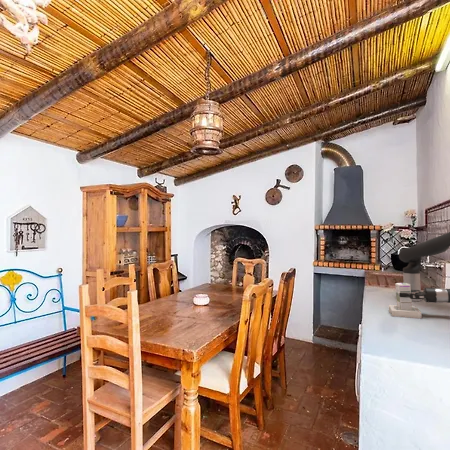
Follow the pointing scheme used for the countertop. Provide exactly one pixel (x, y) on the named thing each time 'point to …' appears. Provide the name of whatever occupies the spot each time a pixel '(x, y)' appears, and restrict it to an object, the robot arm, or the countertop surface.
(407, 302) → the syrup box
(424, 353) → the countertop surface
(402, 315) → the square stand
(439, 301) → the robot arm
